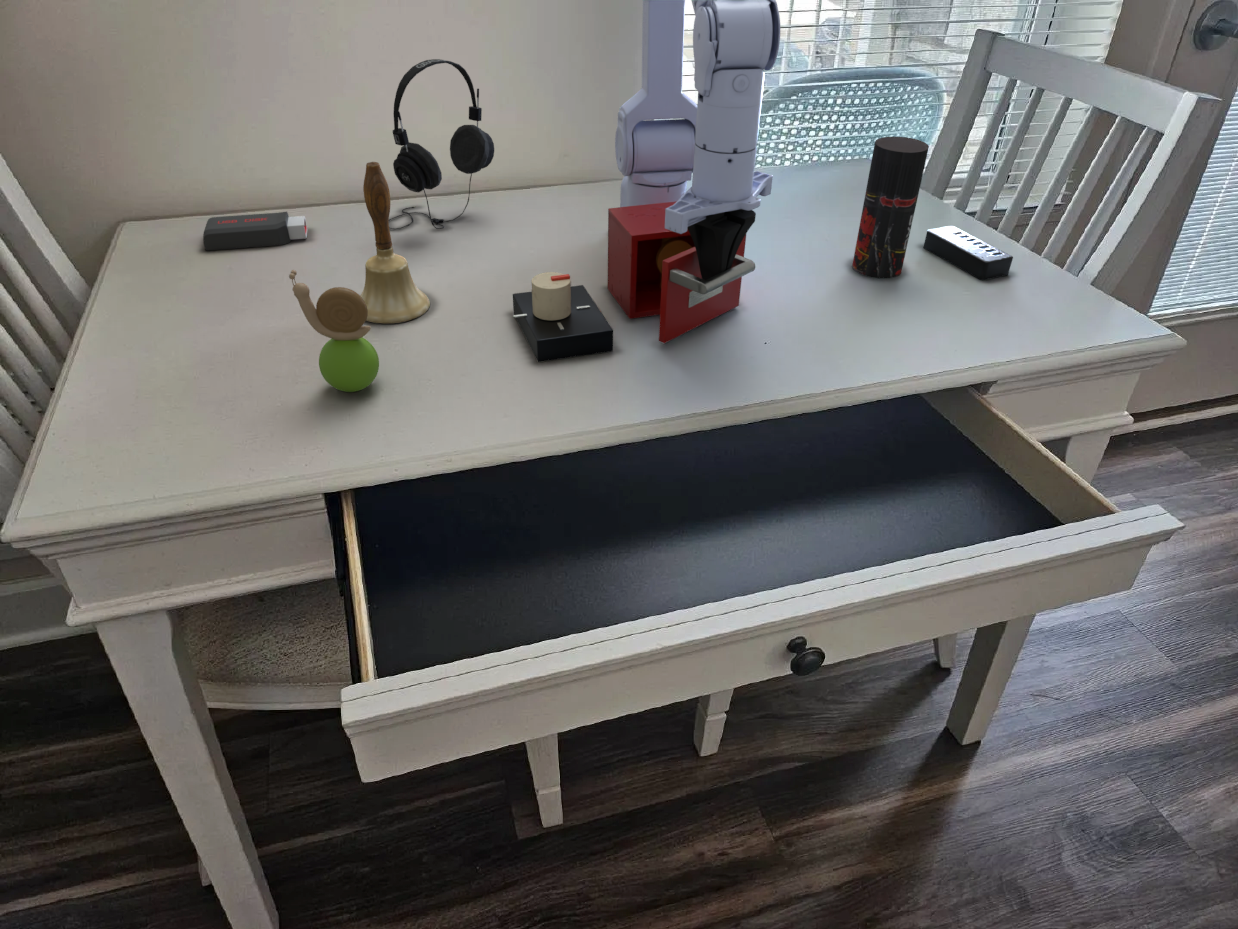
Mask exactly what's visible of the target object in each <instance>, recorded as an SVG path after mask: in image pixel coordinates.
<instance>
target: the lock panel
mask: <svg viewBox="0 0 1238 929" xmlns="http://www.w3.org/2000/svg"><path fill="white" fill-rule="evenodd" d="M512 310H513V316H512V317H513V319H515V320H516V322H517V324H518V326H519V328H520V330H521V332H522V334H523V335H524V338H525V340H526V342H527V343H528V345H529V348H530V350H531V352H532V354H533V355H534V357H535V359H536V362H537V363H543V362H550V361H556V360H563V359H569V358H577V357H583V356H590V355H596V354H602V353H603V354H604V353H610V352H613V351H614V328H613V327H612V326H611V325H610V323H609V321H608V320H607V318H606V317H605V315H604V314H603V312H602V311H601V310H600V308H599V306H598V305H597V304H596V302H595V301H594V299H593V298H592V295H590V293H589V291H588V290H587V289H586V287H585V286H584V285H583V284H580V285H579V284H578V285H571V313H570V315H569V316H568V317H566V318H564V319H560V320H553V321H551V320H543V319H539V318H537V317H536V316H535V315H534V314H533V305H532V290H531V291H524V292H517V293H516V292H515V293H512Z"/></svg>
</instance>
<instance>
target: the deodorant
mask: <svg viewBox="0 0 1238 929" xmlns="http://www.w3.org/2000/svg"><path fill="white" fill-rule="evenodd" d="M929 148H930V146H929V144H928V143H926V142H925V141H922V140H919V139H917V138H913V137H908V136H907V137H906V136H897V135H896V136H892V135H891V136H883V137H879V138H877V139H875V141H874V144H873V151H872V157H871V161H870V166H869V172H868V178H867V183H866V189H865V193H864V200H863V205H862V210H861V216H860V222H859V226H858V232H857V237H856V244H855V249H854V254H853V260H852V269H853V270H854V272H856V273H858V274H859V275H862V276H864V277H867V278H868V277H869V278H873V279H884V280H885V279H892V278H897V277H898V276H900V275H901V274H902V271H903V267H904V262H905V257H906V253H907V247H908V243H909V239H910V234H911V230H912V225H913V221H914V216H915V212H916V207H917V203H918V198H919V193H920V190H921V184H922V180H923V176H924V170H925V166H926V162H927V157H928V153H929Z"/></svg>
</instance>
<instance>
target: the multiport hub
mask: <svg viewBox="0 0 1238 929" xmlns="http://www.w3.org/2000/svg"><path fill="white" fill-rule="evenodd" d="M922 246H923V248H924V249H925V250H927V251H929V252H930V253H932V254H934V255H935V256H937V257H938V258H939V257H940V258H941V259H943V260H944V261H946V262H948V263H949V264H952V265H954V267H956V268H959V269H961V271H962V270H963V271H964V272H966V273H968V274H970V275H971V276H973V277H974V278H977V279H978V280H980V281H987V280H990V279H996V278H1001V277H1005V276H1008V275H1009V273H1010V269H1011V267H1012V262H1013V259H1014V256H1013V255H1011V254H1009V253H1007V252H1005V251H1003V250H1001V249H1000V248H998V247H995V246H994V245H993V244H990V243H988V242H986V241H984V240H982V239H980V238H978V237H976V236H974V235H972V234H970V233H968V232H967V231H965V230H963V229H960V228H958V226H957V227H956V226H954V225H947V226H941V227H937V228H930V229H927V230H926V234H925V238H924V242H923V245H922Z"/></svg>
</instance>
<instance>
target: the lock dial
mask: <svg viewBox="0 0 1238 929" xmlns="http://www.w3.org/2000/svg"><path fill="white" fill-rule="evenodd" d="M571 282H572V280H571V275H570V274H569V273H566V274H565V273H561V272H557V271H549V272H548V271H547V272H540V273H537V274H536V275H534V276H533V277H532V278H531V291H532V305H533V314H534V315H535V316H536V317H537V318H539V319H543V320H551V321H553V320H560V319H564V318H566V317H568V316H569V315H570V313H571V286H572V285H571Z"/></svg>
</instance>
